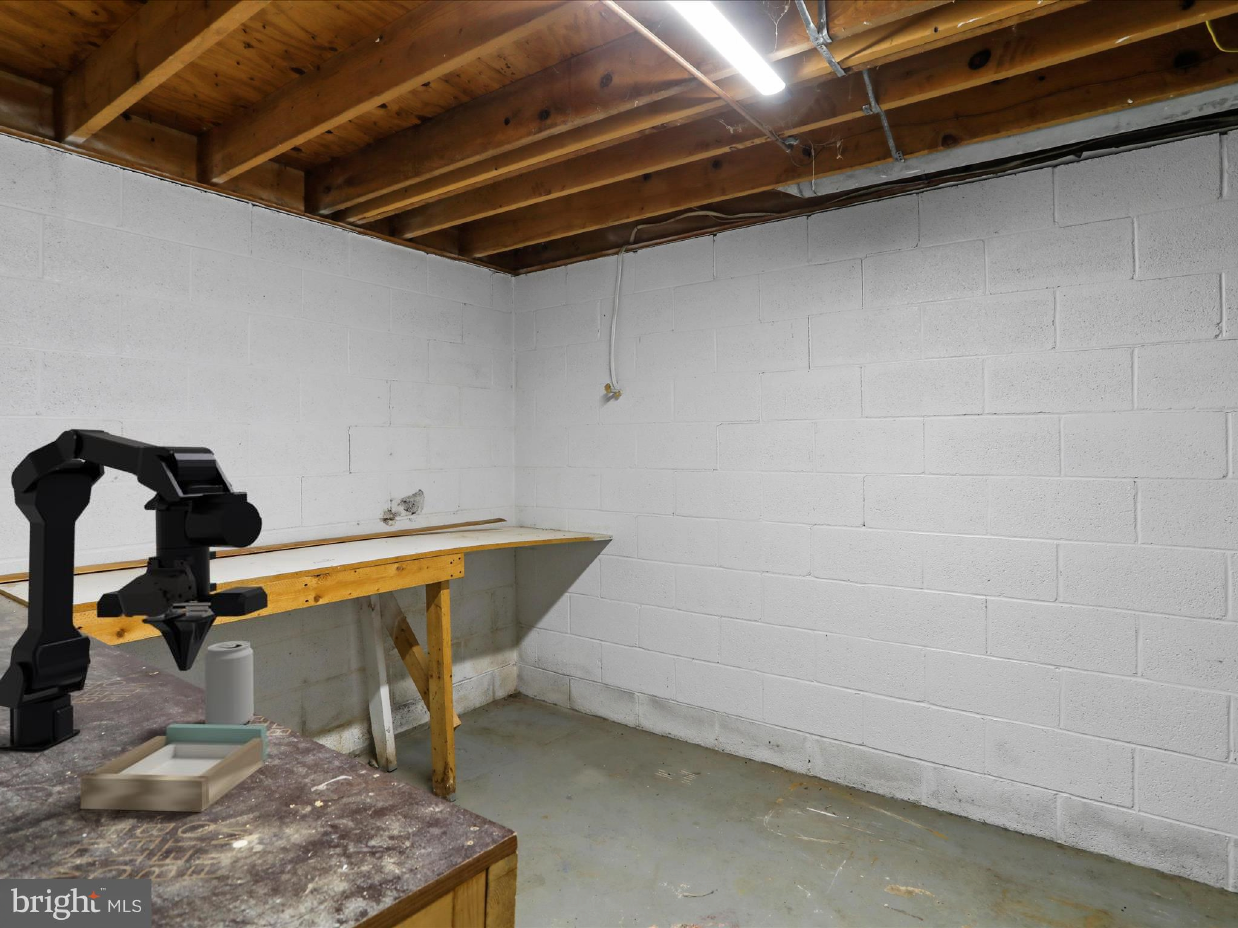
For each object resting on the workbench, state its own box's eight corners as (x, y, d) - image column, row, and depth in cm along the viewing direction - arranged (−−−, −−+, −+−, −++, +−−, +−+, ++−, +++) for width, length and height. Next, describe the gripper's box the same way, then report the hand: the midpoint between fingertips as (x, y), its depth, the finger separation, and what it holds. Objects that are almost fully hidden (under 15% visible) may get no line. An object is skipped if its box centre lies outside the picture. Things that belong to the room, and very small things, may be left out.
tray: (99, 800, 81) (99, 762, 81) (172, 756, 94) (172, 723, 94) (207, 803, 81) (206, 765, 81) (266, 758, 93) (266, 725, 93)
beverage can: (232, 733, 101) (231, 651, 101) (194, 730, 103) (194, 649, 103) (263, 717, 108) (262, 640, 108) (227, 714, 109) (226, 638, 109)
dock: (80, 808, 80) (80, 777, 80) (157, 762, 92) (157, 735, 92) (202, 811, 79) (202, 780, 79) (263, 764, 91) (263, 737, 91)
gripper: (57, 555, 80) (59, 691, 80) (215, 553, 79) (217, 690, 79) (129, 544, 91) (131, 663, 91) (269, 542, 90) (271, 662, 90)
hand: (185, 670), depth 88 cm, fingers closed
